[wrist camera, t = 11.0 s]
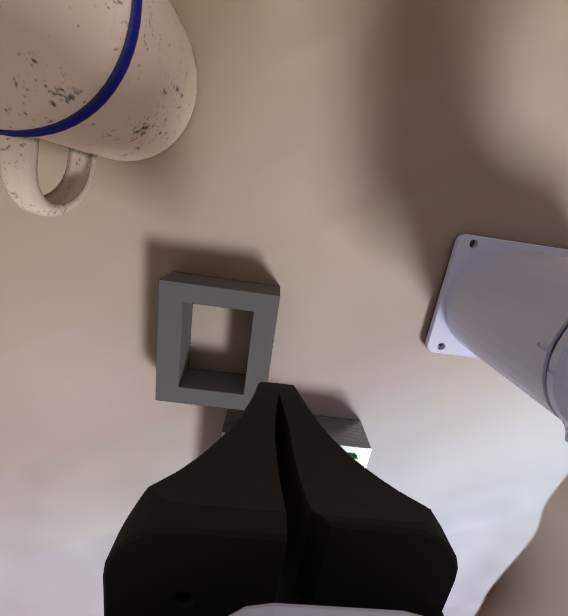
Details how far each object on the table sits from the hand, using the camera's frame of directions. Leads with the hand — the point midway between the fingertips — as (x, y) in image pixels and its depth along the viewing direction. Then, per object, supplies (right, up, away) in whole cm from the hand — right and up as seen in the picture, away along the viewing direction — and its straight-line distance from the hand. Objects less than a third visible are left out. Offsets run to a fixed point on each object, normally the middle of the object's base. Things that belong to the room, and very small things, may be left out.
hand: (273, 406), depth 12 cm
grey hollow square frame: (-4, +2, +10) cm, 11 cm away
